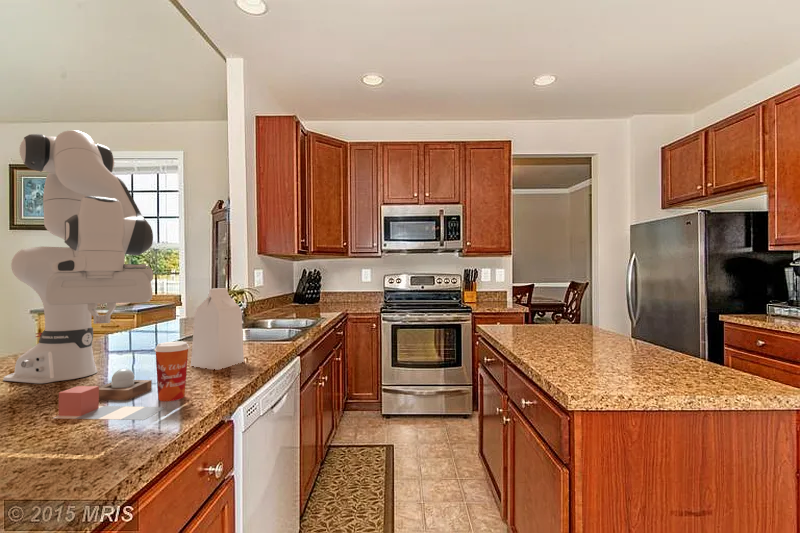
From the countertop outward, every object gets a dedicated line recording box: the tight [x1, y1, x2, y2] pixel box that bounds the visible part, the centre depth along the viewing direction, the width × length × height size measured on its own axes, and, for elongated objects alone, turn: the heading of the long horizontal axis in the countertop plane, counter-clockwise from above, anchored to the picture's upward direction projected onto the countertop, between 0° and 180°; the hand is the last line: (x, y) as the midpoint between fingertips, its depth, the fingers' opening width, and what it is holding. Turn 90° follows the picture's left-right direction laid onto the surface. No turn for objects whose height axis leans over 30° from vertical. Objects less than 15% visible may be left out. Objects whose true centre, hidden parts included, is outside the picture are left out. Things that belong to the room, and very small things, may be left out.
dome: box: [111, 368, 135, 388], centre depth 104 cm, size 5×5×6 cm
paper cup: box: [153, 340, 191, 402], centre depth 101 cm, size 8×8×14 cm
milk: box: [190, 287, 245, 371], centre depth 140 cm, size 12×12×26 cm
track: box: [53, 405, 167, 421], centre depth 91 cm, size 20×8×1 cm, turn 88°
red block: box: [57, 385, 100, 416], centre depth 91 cm, size 5×5×5 cm
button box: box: [99, 379, 153, 401], centre depth 104 cm, size 9×9×3 cm
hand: (102, 323), depth 96 cm, fingers closed
